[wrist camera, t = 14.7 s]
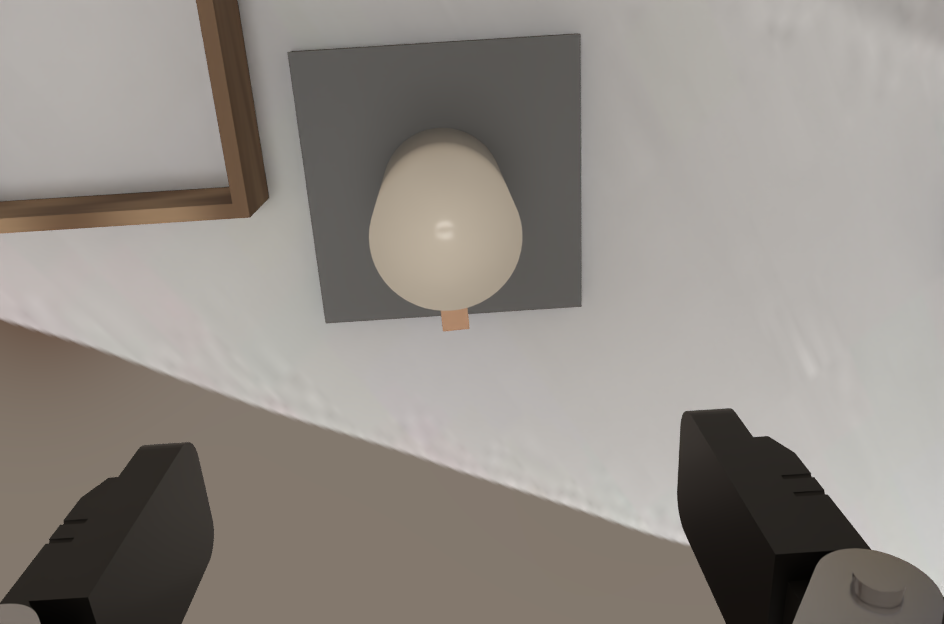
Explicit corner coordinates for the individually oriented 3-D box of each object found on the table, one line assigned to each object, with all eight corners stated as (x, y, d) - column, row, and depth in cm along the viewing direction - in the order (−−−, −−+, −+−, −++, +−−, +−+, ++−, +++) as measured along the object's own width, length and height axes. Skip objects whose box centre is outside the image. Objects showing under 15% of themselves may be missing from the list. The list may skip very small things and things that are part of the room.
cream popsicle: (375, 134, 32) (358, 170, 24) (497, 121, 32) (517, 155, 24) (395, 279, 34) (385, 353, 27) (508, 268, 34) (529, 339, 27)
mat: (577, 33, 31) (580, 34, 31) (578, 300, 36) (581, 306, 35) (291, 51, 31) (287, 52, 31) (328, 316, 36) (325, 323, 35)
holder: (209, -172, 28) (178, -196, 25) (269, 197, 33) (249, 217, 30) (-168, -150, 28) (-248, -171, 25) (-49, 218, 33) (-103, 240, 30)
